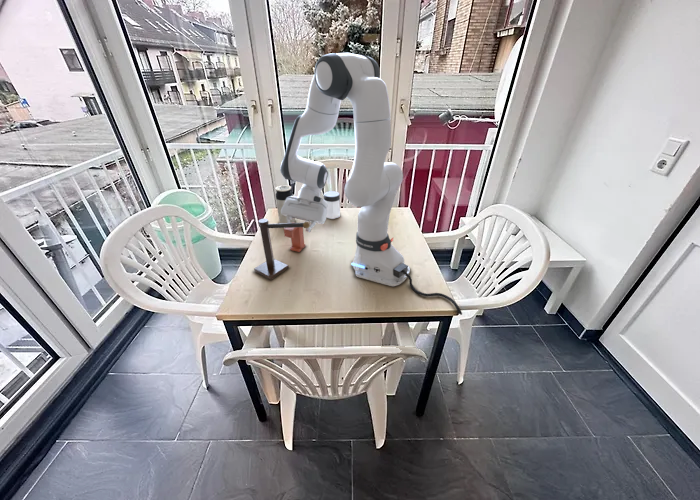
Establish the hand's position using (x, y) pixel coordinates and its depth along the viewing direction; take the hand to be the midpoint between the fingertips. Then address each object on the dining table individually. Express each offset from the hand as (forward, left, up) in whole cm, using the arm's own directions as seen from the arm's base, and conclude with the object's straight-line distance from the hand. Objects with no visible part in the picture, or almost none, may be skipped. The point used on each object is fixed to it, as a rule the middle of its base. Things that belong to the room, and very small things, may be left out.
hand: (298, 229), depth 120 cm
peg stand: (-7, +16, -9) cm, 19 cm away
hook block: (-1, +3, -9) cm, 9 cm away
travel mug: (+21, -14, -9) cm, 27 cm away
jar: (+7, -33, -9) cm, 35 cm away
